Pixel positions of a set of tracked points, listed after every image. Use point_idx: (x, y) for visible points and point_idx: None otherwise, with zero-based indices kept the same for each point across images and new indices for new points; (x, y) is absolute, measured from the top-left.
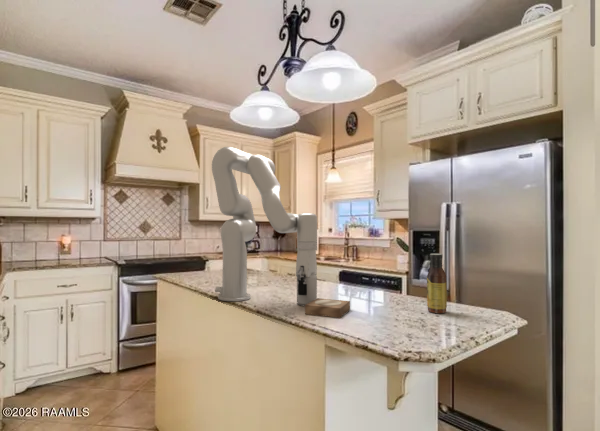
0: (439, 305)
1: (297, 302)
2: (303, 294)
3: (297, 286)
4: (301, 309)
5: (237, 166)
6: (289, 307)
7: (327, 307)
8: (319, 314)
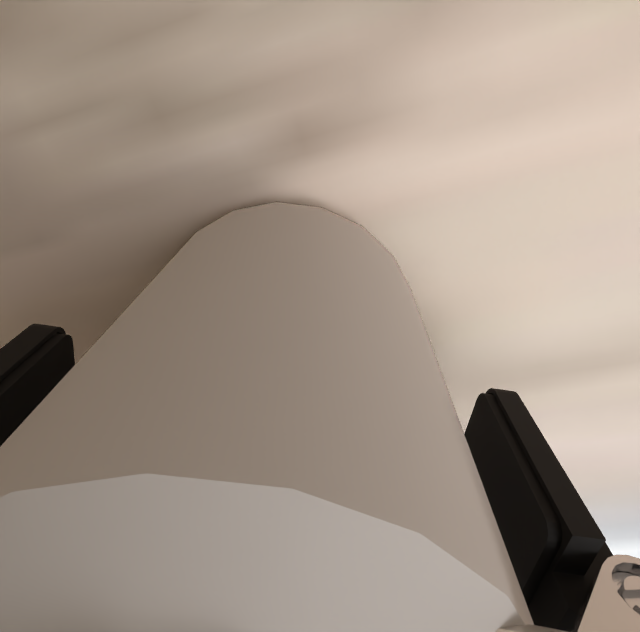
0: None
1: (195, 233)
2: None
3: (100, 340)
4: (22, 316)
5: None
6: (38, 155)
7: None
8: None
